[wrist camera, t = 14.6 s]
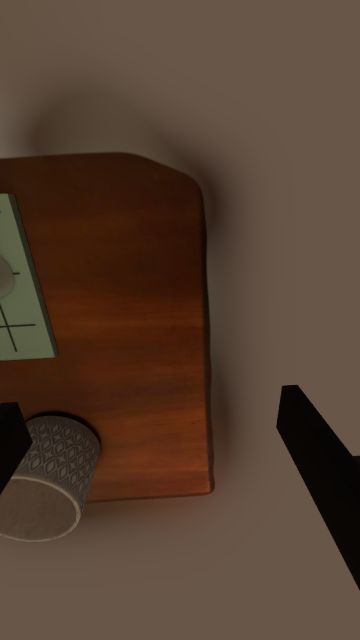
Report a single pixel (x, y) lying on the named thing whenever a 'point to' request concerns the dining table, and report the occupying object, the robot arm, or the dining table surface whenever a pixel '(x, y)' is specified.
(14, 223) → the board
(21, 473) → the planter
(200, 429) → the dining table surface
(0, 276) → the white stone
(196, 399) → the dining table surface
